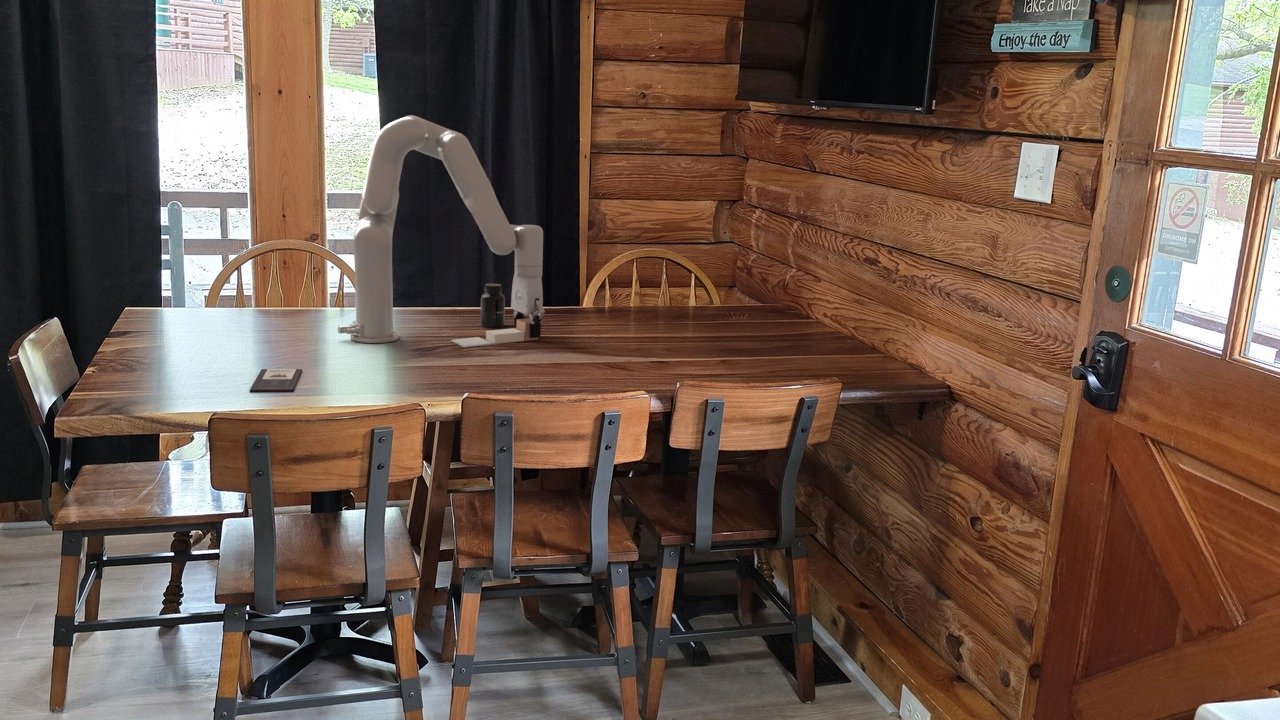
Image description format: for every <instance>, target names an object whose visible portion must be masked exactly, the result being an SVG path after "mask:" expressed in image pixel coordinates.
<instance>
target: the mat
mask: <svg viewBox="0 0 1280 720" xmlns="http://www.w3.org/2000/svg"><path fill="white" fill-rule="evenodd" d="M451 342H452V343H455V344H457V345H458V346H460V347H462V348H474V347H481V346H491V345H493V343H491V342H489V341H487V340H486V339H484V338H481V337H479V336H475V337H465V338H458V339H457V338H456V339H455V338H453V339H451Z"/></svg>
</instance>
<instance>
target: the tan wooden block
mask: <svg viewBox="0 0 1280 720" xmlns="http://www.w3.org/2000/svg"><path fill="white" fill-rule="evenodd" d="M530 323H531V320H530V317H529V318H525V319H517V325H516V328H517V329H519V330H522V331H524V341H525V342H526V341H527V342H528V341H535V340H539V337H538V338H530V337H529V327H530ZM524 341H523V342H524Z"/></svg>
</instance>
